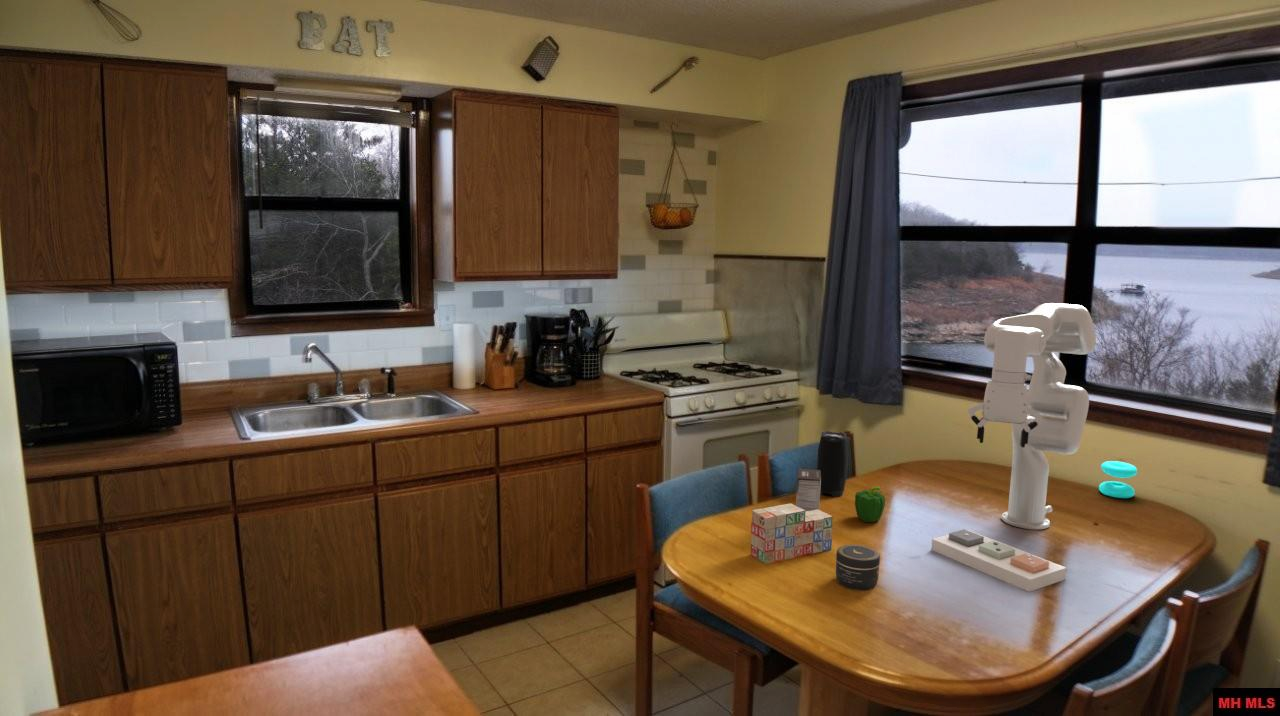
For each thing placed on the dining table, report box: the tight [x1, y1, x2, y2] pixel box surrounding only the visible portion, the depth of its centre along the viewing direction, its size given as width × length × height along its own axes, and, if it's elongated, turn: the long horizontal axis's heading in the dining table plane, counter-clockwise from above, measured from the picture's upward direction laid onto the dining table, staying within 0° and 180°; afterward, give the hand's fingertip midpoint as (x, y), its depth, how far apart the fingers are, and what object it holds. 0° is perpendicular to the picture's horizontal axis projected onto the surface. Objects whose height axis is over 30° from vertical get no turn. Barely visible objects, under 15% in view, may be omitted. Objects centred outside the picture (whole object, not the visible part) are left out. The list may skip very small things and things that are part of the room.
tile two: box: [978, 540, 1015, 560], centre depth 199 cm, size 6×6×3 cm
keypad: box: [930, 529, 1067, 592], centre depth 199 cm, size 14×28×3 cm, turn 30°
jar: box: [835, 544, 881, 591], centre depth 187 cm, size 10×10×8 cm
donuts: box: [1098, 460, 1138, 499], centre depth 255 cm, size 10×10×10 cm
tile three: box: [1010, 552, 1049, 574], centre depth 191 cm, size 6×6×3 cm
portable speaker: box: [816, 430, 849, 498], centre depth 251 cm, size 9×9×20 cm
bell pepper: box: [854, 485, 886, 523], centre depth 229 cm, size 8×8×10 cm
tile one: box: [948, 528, 984, 547], centre depth 207 cm, size 6×6×3 cm
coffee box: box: [795, 468, 821, 511], centre depth 221 cm, size 9×6×16 cm
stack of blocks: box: [750, 503, 834, 564], centre depth 204 cm, size 21×6×12 cm, turn 116°
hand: (1001, 444), depth 202 cm, fingers open, 9 cm apart
